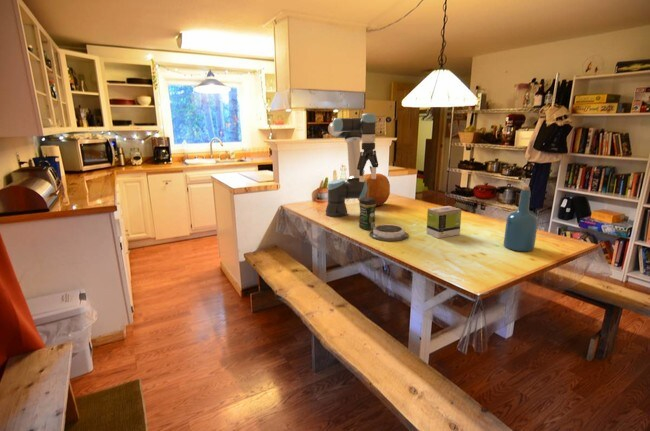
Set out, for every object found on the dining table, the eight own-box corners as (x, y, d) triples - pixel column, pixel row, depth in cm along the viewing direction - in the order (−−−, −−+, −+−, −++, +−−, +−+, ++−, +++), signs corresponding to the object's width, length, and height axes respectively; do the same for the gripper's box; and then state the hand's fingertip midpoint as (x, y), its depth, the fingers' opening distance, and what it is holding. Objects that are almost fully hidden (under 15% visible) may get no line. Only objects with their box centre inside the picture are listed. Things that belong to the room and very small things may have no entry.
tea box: (447, 230, 193) (449, 205, 189) (460, 235, 184) (462, 208, 180) (425, 233, 188) (427, 207, 184) (437, 238, 179) (439, 211, 175)
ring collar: (380, 227, 200) (380, 221, 199) (414, 233, 188) (414, 227, 187) (362, 236, 184) (362, 230, 183) (398, 244, 172) (398, 237, 171)
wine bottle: (518, 254, 156) (527, 190, 148) (496, 244, 168) (503, 185, 161) (541, 250, 159) (551, 188, 152) (518, 241, 172) (526, 183, 164)
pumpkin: (358, 209, 246) (358, 168, 238) (353, 202, 267) (353, 164, 260) (393, 208, 248) (394, 167, 240) (385, 201, 269) (386, 164, 262)
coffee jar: (356, 227, 202) (356, 196, 198) (366, 224, 207) (367, 195, 202) (367, 230, 195) (367, 199, 190) (377, 228, 199) (378, 197, 194)
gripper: (362, 143, 176) (362, 183, 181) (384, 141, 195) (383, 177, 201) (350, 143, 180) (350, 182, 186) (373, 141, 200) (372, 176, 205)
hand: (367, 180), depth 193 cm, fingers open, 13 cm apart
